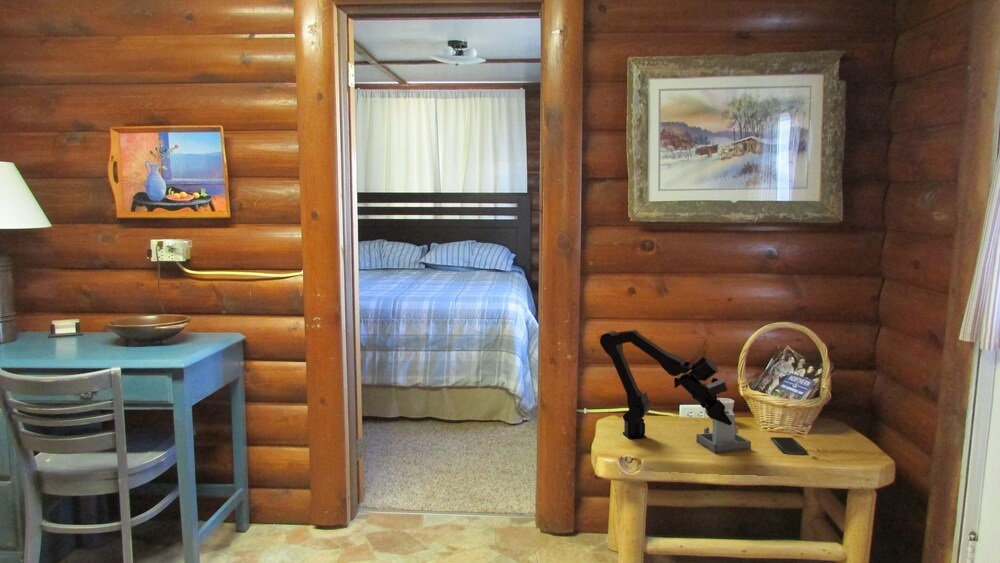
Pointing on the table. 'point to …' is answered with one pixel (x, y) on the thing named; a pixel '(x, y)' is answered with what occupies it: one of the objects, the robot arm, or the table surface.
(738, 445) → the tray
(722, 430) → the sleeve
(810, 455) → the table surface
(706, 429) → the grey metal capsule
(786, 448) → the phone
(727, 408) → the cup
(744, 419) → the table surface
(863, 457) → the table surface
